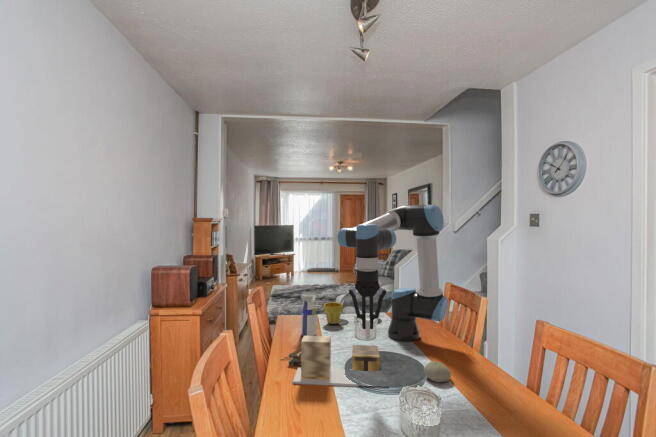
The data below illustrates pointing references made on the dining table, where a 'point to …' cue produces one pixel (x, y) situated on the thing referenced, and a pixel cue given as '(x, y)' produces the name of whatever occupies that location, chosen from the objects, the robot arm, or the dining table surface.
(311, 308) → the water bottle
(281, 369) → the dining table surface
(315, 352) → the oak block
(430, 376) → the sea urchin shell
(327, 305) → the plant pot
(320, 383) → the felt mat
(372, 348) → the walnut block
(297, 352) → the decorative book
